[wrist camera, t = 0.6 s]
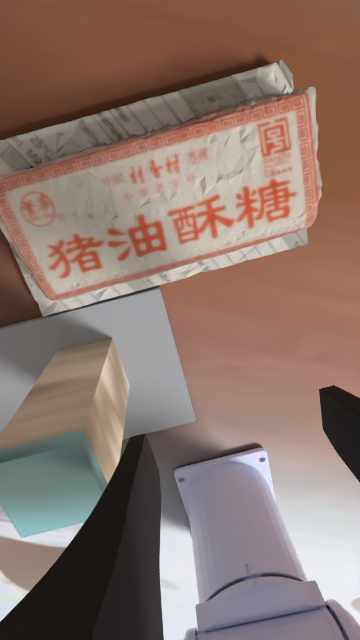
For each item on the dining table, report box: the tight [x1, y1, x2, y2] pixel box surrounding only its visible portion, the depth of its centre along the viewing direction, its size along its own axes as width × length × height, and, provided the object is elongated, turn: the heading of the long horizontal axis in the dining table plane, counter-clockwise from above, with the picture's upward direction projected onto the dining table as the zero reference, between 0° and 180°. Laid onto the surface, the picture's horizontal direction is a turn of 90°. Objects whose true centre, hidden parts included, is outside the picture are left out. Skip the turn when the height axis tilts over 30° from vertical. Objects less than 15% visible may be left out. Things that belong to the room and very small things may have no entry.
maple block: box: [0, 338, 130, 538], centre depth 17 cm, size 4×4×10 cm
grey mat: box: [0, 286, 196, 440], centre depth 22 cm, size 11×22×1 cm, turn 104°
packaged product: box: [0, 60, 322, 317], centre depth 17 cm, size 18×5×10 cm
